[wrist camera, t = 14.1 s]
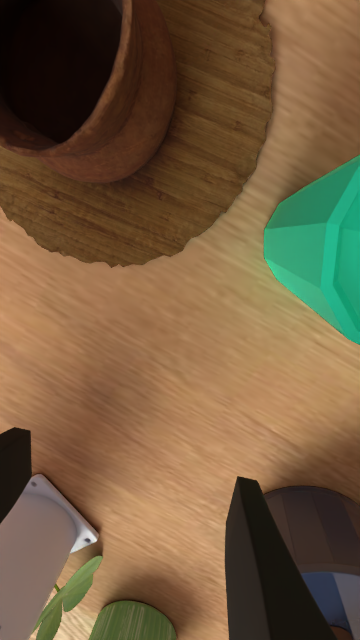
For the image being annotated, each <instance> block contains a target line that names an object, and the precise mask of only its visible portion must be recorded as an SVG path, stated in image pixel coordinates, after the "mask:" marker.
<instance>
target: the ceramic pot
mask: <svg viewBox="0 0 360 640" xmlns="http://www.w3.org/2000/svg"><path fill="white" fill-rule="evenodd" d="M264 3H265V0H0V206H1V208H2V209H3V211H4V213H5V214H6V217H7V219H8V220H9V221H12V220H13V221H14V222H15V223H17V224H18V225H20V226H21V227H22V228H24V229H25V231H26V233H27V234H28V236H31V237H33V238H34V239H35V241H36V242H37V244H38V245H40V246H41V247H43V248H44V249H47V250H49V251H50V252H59V253H60V254H62V255H63V256H72V257H75V258H77V259H78V260H80V261H82V262H85V263H93V262H96V261H97V262H106V263H107V264H108V265H109V266H110V267H111V268H112V267H114V266H116V265H118V264H119V265H121V266H122V267H124V266H128V265H131V264H135V265H144V264H145V263H147V262H148V261H150V260H152V259H155V258H158V257H160V256H162V255H165V256H169V257H171V256H173V255H175V254H177V253H179V252H181V251H183V249H184V247H185V245H186V243H187V242H188V241H189V240H190V239H191V238H193V237H196V236H198V235H200V234H201V233H202V232H204V231H205V230H206V229H208V228H209V227H210V226H212V224H213V223H214V222H215V220H216V219H217V218H218V217H219V215H220V212H221V211H223V212H225V213H226V211H227V210H228V209H229V207H230V206H231V204H232V203H233V201H234V199H235V198H236V196H237V195H238V194H240V193H241V192H242V184H243V183H245V182H246V181H247V178H248V177H249V176H250V175H251V174H252V173H253V171H254V170H255V169H256V166H257V162H256V156H257V154H258V152H259V149H260V147H261V146H262V145H263V144H264V142H265V140H266V134H265V127H266V123H267V122H268V121H269V120H270V118H271V115H272V111H273V108H272V103H271V80H272V74H273V72H274V70H275V60H274V59H273V58H272V57H271V56H270V53H271V51H272V42H271V38H270V37H269V36H268V35H269V32H270V29H271V25H270V24H269V23H268V25H267V28H266V27H264V26H263V25H262V23H261V22H260V20H259V18H258V17H259V16H260V14H261V13H262V11H263V7H264Z"/></svg>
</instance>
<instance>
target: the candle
mask: <svg viewBox="0 0 360 640" xmlns="http://www.w3.org/2000/svg"><path fill="white" fill-rule="evenodd" d="M264 259H265V260H266V262H267V264H268V265H269V267H270V269H271V271H272V272H273V274H274V276H275V277H276V279H277V280H278V281H279V282H280V283H282V284H283V285H284V286H285V287H286V288H288V289H289V290H290V291H291V292H292V293H294V294H295V295H296V296H297V297H298V298H300V299H301V300H302V301H303V302H304V303H305V304H307V305H308V306H309V307H310V308H311V309H313V310H314V311H315V312H316V313H317V314H319V315H320V316H321V317H322V318H323V319H325V320H326V321H327V322H328V323H329V324H331V325H332V326H333V327H334V328H335V329H337V330H338V331H339V332H340V333H341V334H343V335H344V336H345V337H346V338H347V339H349V340H351V341H353V342H355V343H357V344H359V345H360V155H358V156H356V157H355V158H353V159H351V160H350V161H348V162H346V163H344V164H343V165H341V166H339V167H337V168H336V169H334V170H332V171H331V172H329V173H327V174H325V175H324V176H322V177H320V178H319V179H317V180H315V181H313V182H312V183H310V184H308V185H307V186H305V187H303V188H302V189H300V190H299V191H297V192H296V193H294V194H293V195H291V196H290V197H288V198H287V199H285V200H284V201H282V202H281V203H279V204H278V206H277V208H276V210H275V212H274V213H273V215H272V217H271V219H270V220H269V222H268V224H267V226H266V227H265V229H264Z"/></svg>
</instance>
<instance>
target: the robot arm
mask: <svg viewBox="0 0 360 640" xmlns="http://www.w3.org/2000/svg"><path fill="white" fill-rule="evenodd" d="M98 537H99V534H98V533H97V531H96V530H95V529H94V528H93V527H92V526H91V525H90V524H89V523H88V522H87V521H86V520H85V519H84V518H83V517H82V516H81V515H80V514H79V512H78V511H77V510H76V509H75V508H74V507H73V506H72V505H71V504H70V503H69V502H68V501H67V500H66V499H65V498H64V497H63V496H62V494H61V493H60V492H59V491H58V490H57V489H56V488H55V487H54V486H53V485H52V484H51V483H50V482H49V481H48V480H47V479H46V478H45V477H44V476H43V475H42V474H36V475H34V476H33V477H32V468H31V434H30V431H29V430H25V429H20V428H16V427H14V428H12V429H9V430H7V431H5V432H4V433H2V434H0V640H29V638H30V636H31V634H32V632H33V630H34V628H35V626H36V623H37V621H38V619H39V617H40V615H41V613H42V611H43V609H44V607H45V605H46V603H47V600H48V598H49V596H50V594H51V592H52V590H53V588H54V586H55V584H56V582H57V580H58V577H59V575H60V573H61V571H62V569H63V567H64V565H65V563H66V561H67V559H68V556H69V554H71V553H73V552H75V551H78V550H80V549H82V548H84V547H86V546H88V545H90V544H92V543H94V542H96V541H97V540H98ZM225 575H226V593H227V610H228V627H229V640H338V639H337V637H336V635H335V634H334V632H333V630H332V629H331V627H330V625H329V624H328V622H327V620H326V619H325V617H324V615H323V614H322V612H321V610H320V608H319V607H318V605H317V603H316V601H315V599H314V598H313V596H312V594H311V592H310V590H309V589H308V587H307V585H306V583H305V581H304V579H303V578H302V576H301V574H300V572H299V570H298V568H297V566H296V564H295V562H294V560H293V558H292V556H291V554H290V552H289V550H288V548H287V546H286V544H285V542H284V540H283V538H282V536H281V534H280V532H279V530H278V527H277V525H276V523H275V521H274V519H273V516H272V514H271V512H270V510H269V507H268V505H267V503H266V500H265V498H264V495H263V493H262V490H261V488H260V485H259V483H258V482H257V480H252V479H248V478H243V477H239V476H237V480H236V484H235V488H234V492H233V496H232V501H231V505H230V509H229V513H228V517H227V521H226V536H225Z"/></svg>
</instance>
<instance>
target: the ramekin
mask: <svg viewBox="0 0 360 640" xmlns="http://www.w3.org/2000/svg"><path fill="white" fill-rule="evenodd" d="M89 640H176V633H175V630H174V627H173V625H172V623H171V622H170V621H169V619H168V618H167V617H166V616H165V615H164V614H162V613H161V612H160V611H158V610H157V609H155V608H153V607H151V606H149V605H146V604H144V603H140V602H136V601H117V602H114V603H111V604H109V605H107V606H106V607H105V608H103V609H102V611H101V612H100V613H99V615H98V618H97V620H96V622H95V625H94V627H93V630H92V633H91V635H90V638H89Z"/></svg>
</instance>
